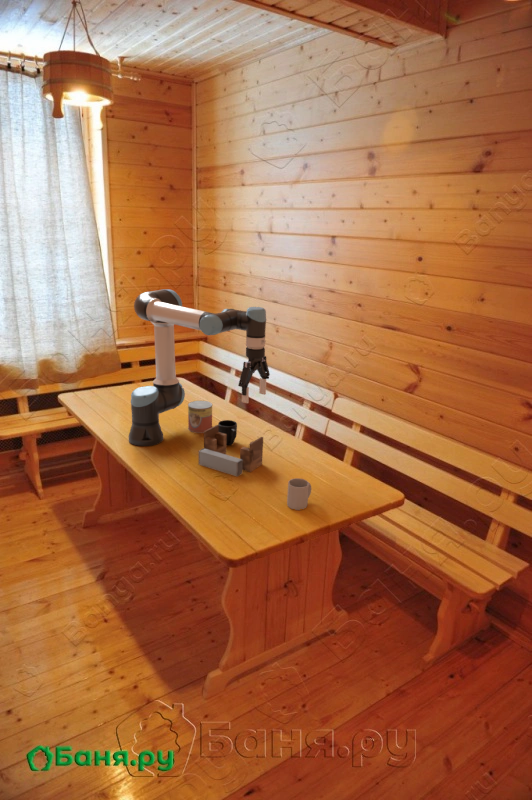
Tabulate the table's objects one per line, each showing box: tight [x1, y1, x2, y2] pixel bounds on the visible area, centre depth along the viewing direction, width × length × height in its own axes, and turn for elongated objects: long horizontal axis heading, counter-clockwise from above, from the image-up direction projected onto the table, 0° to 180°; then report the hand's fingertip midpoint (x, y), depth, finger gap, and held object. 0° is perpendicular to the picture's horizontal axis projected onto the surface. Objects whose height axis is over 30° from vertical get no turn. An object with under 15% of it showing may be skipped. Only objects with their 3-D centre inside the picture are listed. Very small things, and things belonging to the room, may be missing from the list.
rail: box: [198, 447, 243, 477], centre depth 228 cm, size 19×4×6 cm, turn 59°
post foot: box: [239, 436, 264, 473], centre depth 230 cm, size 5×9×12 cm, turn 149°
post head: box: [203, 424, 227, 455], centre depth 239 cm, size 5×9×12 cm, turn 149°
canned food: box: [187, 400, 213, 434], centre depth 268 cm, size 11×11×12 cm
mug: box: [217, 419, 238, 447], centre depth 251 cm, size 8×12×10 cm
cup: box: [286, 477, 312, 511], centre depth 203 cm, size 7×10×9 cm
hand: (254, 398), depth 232 cm, fingers open, 13 cm apart
